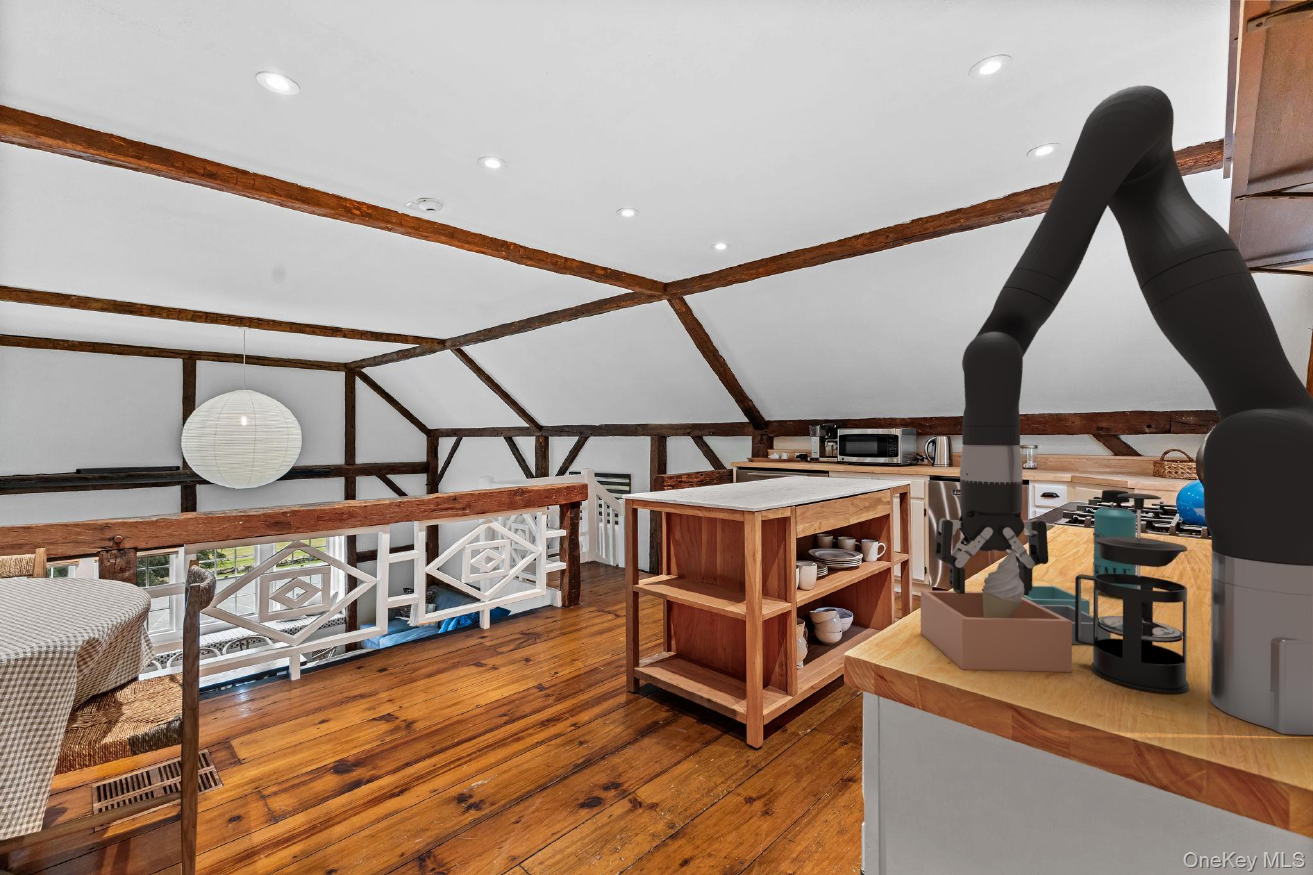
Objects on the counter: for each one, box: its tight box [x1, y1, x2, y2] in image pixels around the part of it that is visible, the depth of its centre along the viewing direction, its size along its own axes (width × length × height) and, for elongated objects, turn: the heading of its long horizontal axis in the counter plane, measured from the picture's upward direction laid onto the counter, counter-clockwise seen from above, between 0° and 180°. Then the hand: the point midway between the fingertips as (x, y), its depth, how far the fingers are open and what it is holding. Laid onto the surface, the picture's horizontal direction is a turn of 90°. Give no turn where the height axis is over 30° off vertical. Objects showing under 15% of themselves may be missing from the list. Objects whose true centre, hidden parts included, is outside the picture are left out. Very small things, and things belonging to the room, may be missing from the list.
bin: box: [920, 590, 1073, 673], centre depth 81 cm, size 14×14×6 cm
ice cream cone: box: [981, 550, 1024, 618], centre depth 81 cm, size 5×5×15 cm
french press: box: [1074, 492, 1190, 695], centre depth 73 cm, size 12×9×23 cm
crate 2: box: [1040, 605, 1112, 645], centre depth 88 cm, size 9×9×3 cm
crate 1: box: [1022, 585, 1091, 615], centre depth 100 cm, size 9×9×3 cm
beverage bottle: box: [1092, 489, 1137, 589], centre depth 108 cm, size 6×7×20 cm
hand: (990, 593), depth 81 cm, fingers open, 8 cm apart
